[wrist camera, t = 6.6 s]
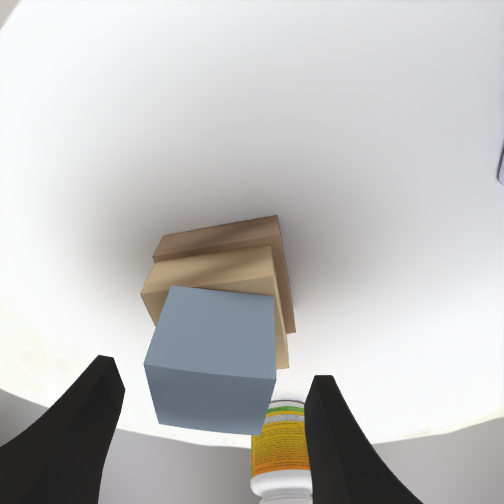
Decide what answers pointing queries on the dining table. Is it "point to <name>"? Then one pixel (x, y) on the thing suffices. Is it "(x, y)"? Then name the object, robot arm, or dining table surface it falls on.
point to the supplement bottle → (281, 457)
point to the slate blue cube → (213, 360)
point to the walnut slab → (232, 239)
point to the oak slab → (221, 283)
